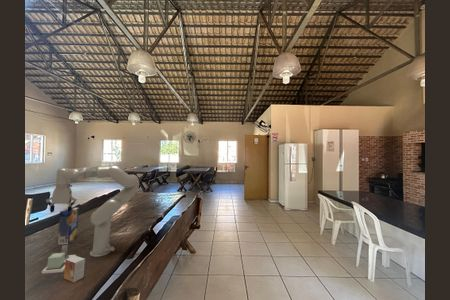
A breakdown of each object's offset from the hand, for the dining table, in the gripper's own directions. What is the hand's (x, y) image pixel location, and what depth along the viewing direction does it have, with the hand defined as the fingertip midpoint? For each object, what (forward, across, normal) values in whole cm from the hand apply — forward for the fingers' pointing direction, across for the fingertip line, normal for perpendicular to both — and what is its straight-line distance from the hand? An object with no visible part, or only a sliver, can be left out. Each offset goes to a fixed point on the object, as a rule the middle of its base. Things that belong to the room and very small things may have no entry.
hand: (60, 211), depth 139 cm
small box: (+29, -21, +31) cm, 47 cm away
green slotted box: (+26, -7, +19) cm, 33 cm away
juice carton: (+28, +3, -23) cm, 37 cm away
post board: (+28, -8, +14) cm, 33 cm away
